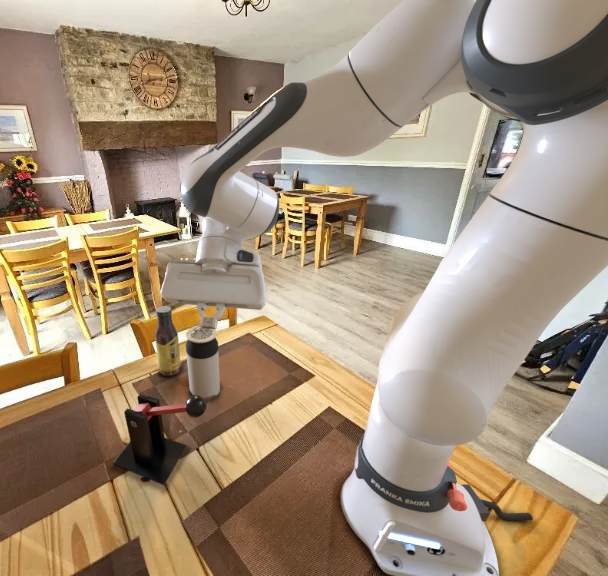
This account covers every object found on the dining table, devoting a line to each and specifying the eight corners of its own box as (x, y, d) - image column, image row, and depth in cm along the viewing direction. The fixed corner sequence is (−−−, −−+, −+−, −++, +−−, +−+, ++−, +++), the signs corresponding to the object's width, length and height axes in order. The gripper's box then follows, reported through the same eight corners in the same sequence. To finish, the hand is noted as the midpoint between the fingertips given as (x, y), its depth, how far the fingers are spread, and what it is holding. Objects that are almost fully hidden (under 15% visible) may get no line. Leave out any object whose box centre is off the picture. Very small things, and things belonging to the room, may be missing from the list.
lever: (213, 406, 54) (204, 389, 53) (204, 422, 51) (194, 404, 50) (148, 413, 62) (139, 399, 61) (137, 427, 59) (127, 412, 58)
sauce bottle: (176, 378, 87) (169, 316, 78) (156, 375, 88) (146, 314, 80) (184, 363, 93) (178, 304, 84) (164, 361, 94) (156, 303, 85)
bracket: (187, 449, 66) (181, 397, 60) (164, 489, 59) (155, 433, 53) (140, 433, 70) (130, 382, 64) (114, 468, 63) (99, 414, 57)
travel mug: (226, 389, 82) (224, 332, 75) (203, 406, 77) (199, 346, 70) (206, 375, 87) (202, 320, 80) (184, 390, 82) (177, 333, 75)
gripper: (163, 251, 61) (149, 319, 56) (268, 255, 57) (261, 329, 52) (173, 264, 67) (161, 327, 62) (269, 269, 63) (263, 336, 58)
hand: (208, 328), depth 57 cm, fingers closed
